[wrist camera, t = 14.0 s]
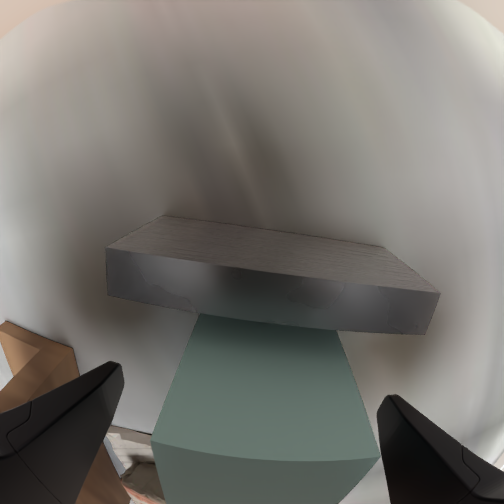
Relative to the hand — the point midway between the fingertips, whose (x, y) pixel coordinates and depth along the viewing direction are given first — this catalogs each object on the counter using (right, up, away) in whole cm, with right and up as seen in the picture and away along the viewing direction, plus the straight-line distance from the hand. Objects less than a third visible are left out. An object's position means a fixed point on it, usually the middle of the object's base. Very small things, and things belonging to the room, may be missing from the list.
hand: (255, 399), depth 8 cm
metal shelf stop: (+1, +5, +2) cm, 5 cm away
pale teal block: (0, +1, +3) cm, 3 cm away
